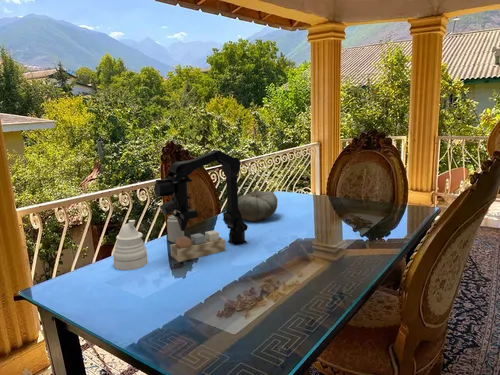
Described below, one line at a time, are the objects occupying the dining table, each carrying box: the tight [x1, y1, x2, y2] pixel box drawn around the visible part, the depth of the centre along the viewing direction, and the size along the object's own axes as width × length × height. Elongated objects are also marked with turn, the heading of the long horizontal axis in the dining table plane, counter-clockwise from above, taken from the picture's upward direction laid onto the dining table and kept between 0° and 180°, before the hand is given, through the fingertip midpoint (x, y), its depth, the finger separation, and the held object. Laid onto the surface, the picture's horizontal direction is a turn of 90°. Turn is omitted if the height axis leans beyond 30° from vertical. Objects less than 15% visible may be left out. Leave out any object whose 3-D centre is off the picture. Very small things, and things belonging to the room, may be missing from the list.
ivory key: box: [204, 229, 220, 242], centre depth 165 cm, size 4×4×5 cm
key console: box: [169, 236, 226, 263], centre depth 162 cm, size 22×8×5 cm, turn 124°
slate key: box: [190, 232, 205, 245], centre depth 161 cm, size 4×4×5 cm
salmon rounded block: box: [175, 235, 191, 249], centre depth 158 cm, size 4×4×5 cm
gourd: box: [238, 188, 279, 222], centre depth 213 cm, size 25×25×17 cm
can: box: [166, 214, 185, 244], centre depth 178 cm, size 8×8×12 cm
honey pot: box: [112, 219, 149, 271], centre depth 151 cm, size 13×13×18 cm
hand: (182, 230), depth 156 cm, fingers closed
